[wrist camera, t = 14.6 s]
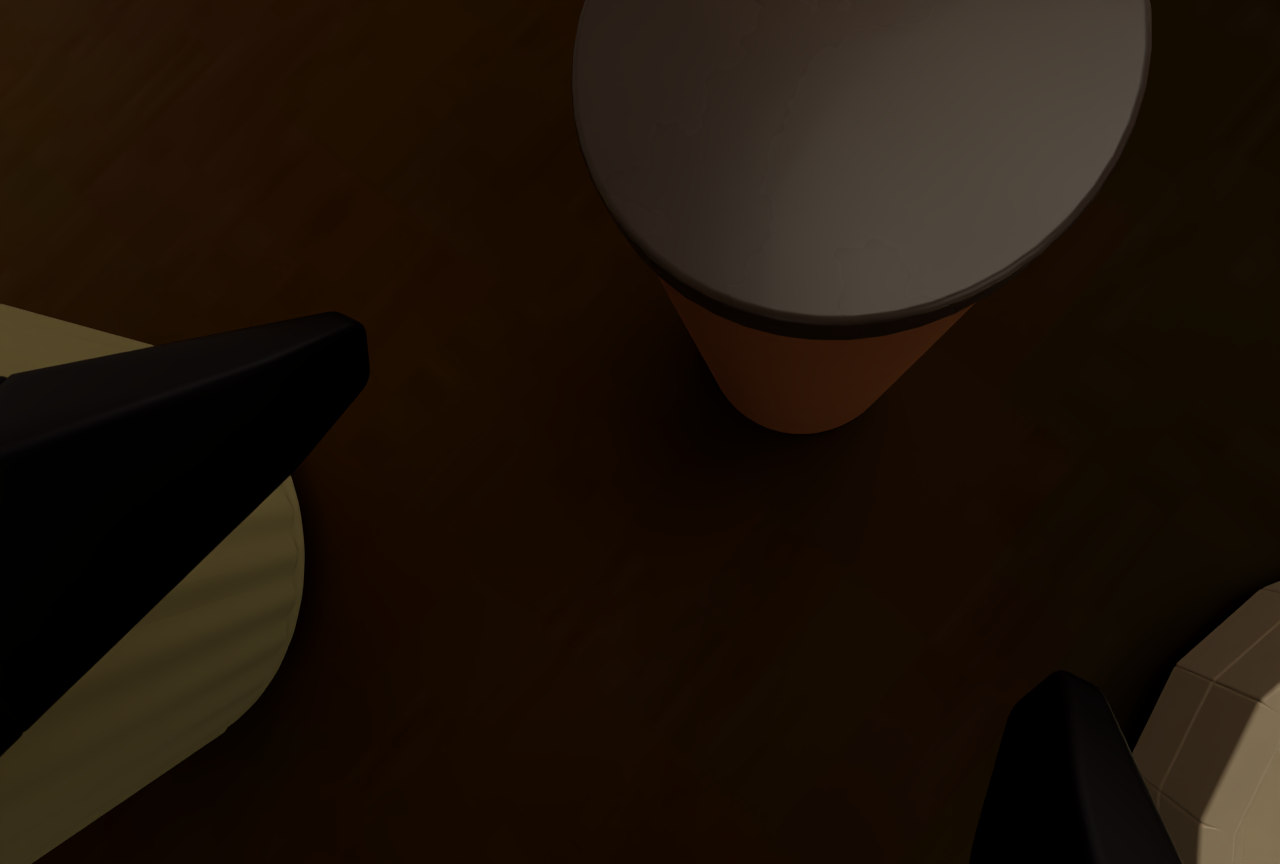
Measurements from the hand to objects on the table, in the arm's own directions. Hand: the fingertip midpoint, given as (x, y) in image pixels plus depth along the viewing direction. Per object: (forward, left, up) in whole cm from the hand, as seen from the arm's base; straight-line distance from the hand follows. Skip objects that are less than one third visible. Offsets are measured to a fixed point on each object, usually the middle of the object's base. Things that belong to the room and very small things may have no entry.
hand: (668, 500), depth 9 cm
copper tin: (+1, +4, -10) cm, 11 cm away
